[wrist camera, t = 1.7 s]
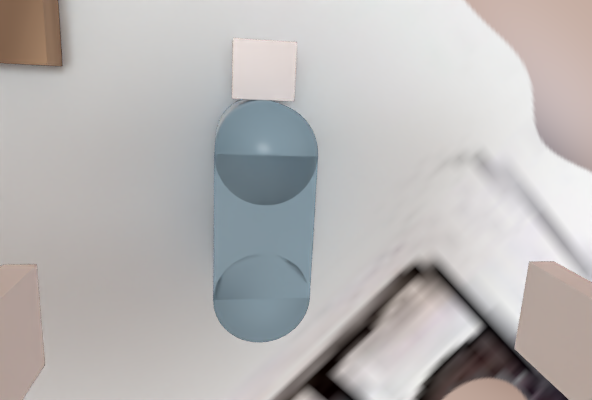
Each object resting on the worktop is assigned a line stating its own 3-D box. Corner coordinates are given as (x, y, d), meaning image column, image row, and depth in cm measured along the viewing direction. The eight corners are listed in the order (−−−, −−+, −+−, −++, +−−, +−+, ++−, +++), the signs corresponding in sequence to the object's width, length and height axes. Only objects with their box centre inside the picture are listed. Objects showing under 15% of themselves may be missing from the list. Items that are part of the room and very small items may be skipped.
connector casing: (214, 285, 26) (212, 343, 20) (216, 43, 23) (215, 31, 17) (288, 283, 27) (307, 340, 21) (299, 48, 24) (324, 38, 18)
